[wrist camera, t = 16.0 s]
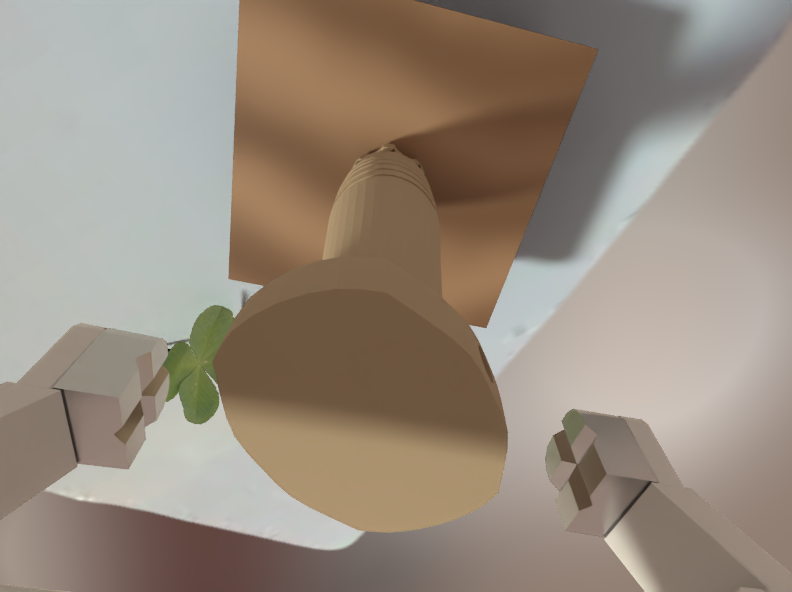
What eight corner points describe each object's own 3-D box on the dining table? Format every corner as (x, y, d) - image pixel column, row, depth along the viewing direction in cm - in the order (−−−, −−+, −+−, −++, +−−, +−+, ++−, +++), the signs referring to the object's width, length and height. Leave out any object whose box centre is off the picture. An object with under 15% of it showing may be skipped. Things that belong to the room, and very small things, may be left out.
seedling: (206, 295, 38) (263, 312, 34) (183, 393, 38) (238, 419, 34) (116, 281, 31) (175, 300, 28) (88, 398, 31) (144, 431, 28)
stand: (277, -36, 22) (241, -46, 17) (556, 38, 24) (598, 49, 19) (258, 230, 30) (228, 279, 24) (472, 274, 31) (486, 328, 26)
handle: (407, 84, 19) (420, 244, 7) (462, 216, 23) (542, 497, 10) (306, 134, 21) (154, 353, 8) (372, 254, 24) (339, 550, 11)
